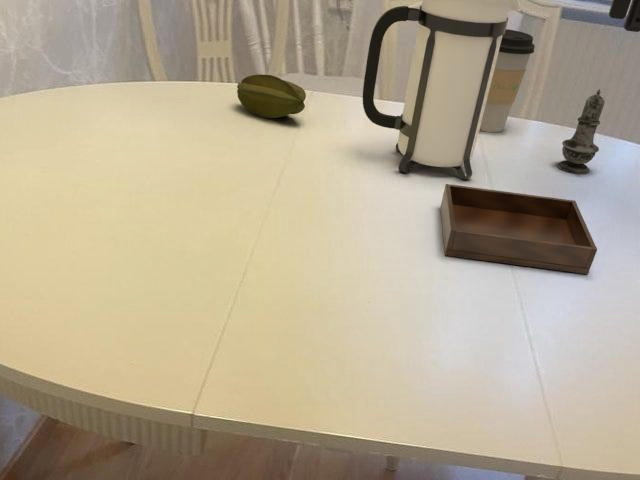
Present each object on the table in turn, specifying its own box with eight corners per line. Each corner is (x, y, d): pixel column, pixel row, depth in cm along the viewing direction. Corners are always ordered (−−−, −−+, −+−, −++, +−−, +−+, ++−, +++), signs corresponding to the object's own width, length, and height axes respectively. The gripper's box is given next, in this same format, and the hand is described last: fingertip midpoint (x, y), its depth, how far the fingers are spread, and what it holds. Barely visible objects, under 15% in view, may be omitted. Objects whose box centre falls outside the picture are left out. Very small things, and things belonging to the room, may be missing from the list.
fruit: (298, 107, 137) (302, 67, 133) (304, 129, 128) (308, 87, 124) (235, 103, 136) (237, 62, 132) (237, 124, 127) (238, 81, 123)
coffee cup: (492, 138, 133) (517, 42, 123) (450, 123, 138) (471, 29, 128) (522, 130, 138) (548, 38, 128) (480, 116, 143) (502, 25, 133)
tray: (567, 223, 106) (575, 200, 104) (587, 274, 94) (597, 249, 92) (440, 206, 107) (445, 183, 105) (444, 255, 95) (450, 230, 93)
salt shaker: (594, 167, 126) (622, 89, 118) (586, 177, 122) (614, 97, 114) (560, 159, 128) (585, 81, 120) (551, 168, 124) (576, 88, 116)
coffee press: (427, 142, 129) (471, -75, 109) (497, 174, 120) (560, -56, 100) (350, 155, 120) (382, -76, 100) (420, 191, 111) (471, -56, 91)
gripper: (727, -124, 85) (666, 39, 96) (689, -131, 95) (638, 17, 106) (661, -132, 85) (607, 32, 96) (629, -137, 96) (584, 10, 106)
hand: (623, 24), depth 101 cm, fingers open, 8 cm apart
